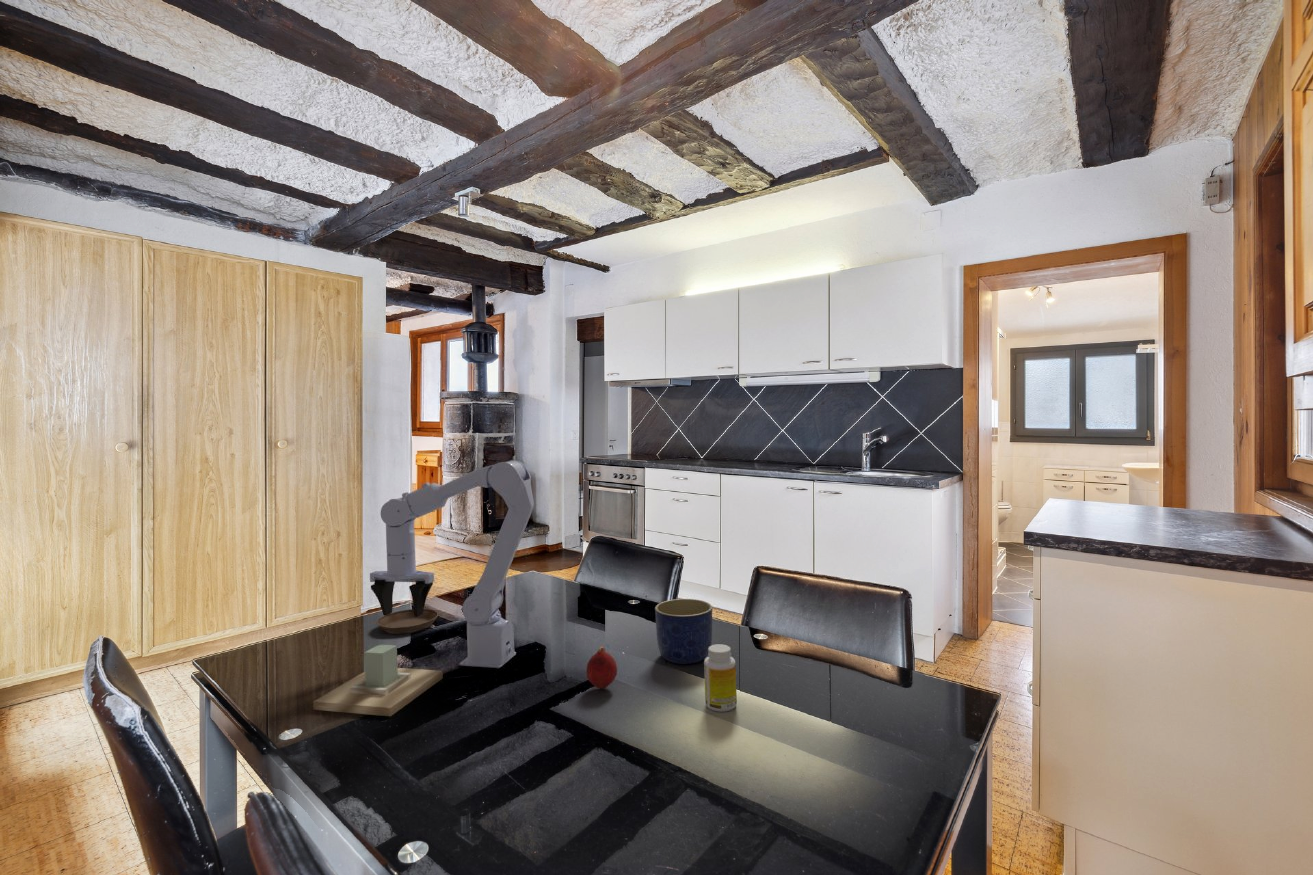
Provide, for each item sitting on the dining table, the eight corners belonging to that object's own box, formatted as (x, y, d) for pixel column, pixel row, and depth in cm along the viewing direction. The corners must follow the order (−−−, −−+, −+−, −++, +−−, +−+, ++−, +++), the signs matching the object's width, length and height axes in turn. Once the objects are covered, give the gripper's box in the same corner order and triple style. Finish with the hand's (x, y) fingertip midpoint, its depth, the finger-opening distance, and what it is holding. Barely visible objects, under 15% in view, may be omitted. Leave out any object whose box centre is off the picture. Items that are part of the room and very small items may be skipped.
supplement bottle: (743, 708, 101) (741, 650, 101) (716, 715, 99) (714, 656, 99) (725, 695, 106) (724, 640, 106) (699, 702, 104) (697, 645, 104)
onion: (612, 697, 107) (611, 654, 107) (582, 695, 108) (581, 652, 108) (620, 683, 112) (619, 642, 112) (592, 681, 114) (591, 641, 114)
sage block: (397, 681, 113) (396, 645, 113) (383, 690, 109) (382, 653, 109) (380, 679, 114) (379, 644, 114) (365, 688, 110) (364, 652, 110)
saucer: (444, 628, 149) (444, 618, 149) (382, 641, 141) (381, 630, 141) (431, 614, 161) (430, 605, 161) (372, 626, 153) (372, 615, 153)
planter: (647, 664, 122) (646, 612, 122) (668, 643, 133) (667, 596, 133) (703, 671, 117) (702, 618, 117) (720, 649, 128) (719, 601, 128)
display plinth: (442, 678, 117) (442, 665, 117) (390, 716, 102) (390, 702, 102) (374, 673, 121) (373, 661, 121) (313, 709, 105) (313, 695, 105)
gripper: (359, 556, 124) (361, 619, 124) (419, 557, 121) (421, 621, 121) (381, 549, 131) (383, 609, 131) (438, 550, 128) (440, 611, 128)
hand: (403, 614), depth 127 cm, fingers open, 7 cm apart
